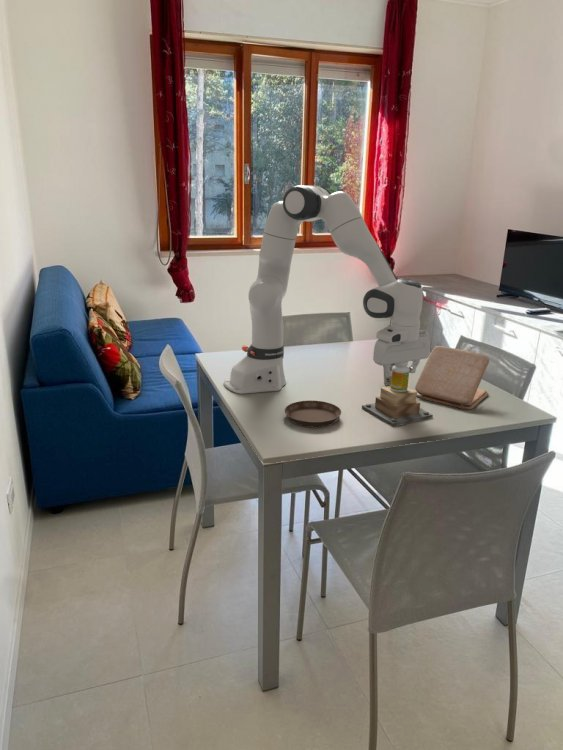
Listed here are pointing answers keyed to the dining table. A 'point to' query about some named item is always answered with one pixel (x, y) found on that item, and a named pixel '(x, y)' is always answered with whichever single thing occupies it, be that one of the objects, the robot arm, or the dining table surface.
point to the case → (453, 377)
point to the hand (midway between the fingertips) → (400, 374)
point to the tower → (397, 407)
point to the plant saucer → (312, 413)
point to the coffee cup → (388, 379)
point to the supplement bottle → (400, 377)
